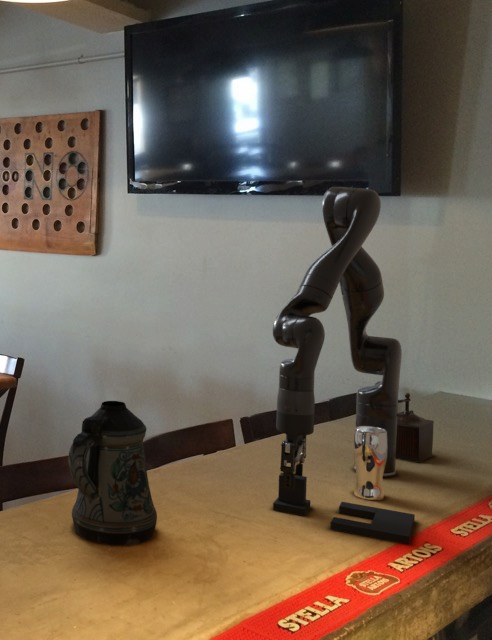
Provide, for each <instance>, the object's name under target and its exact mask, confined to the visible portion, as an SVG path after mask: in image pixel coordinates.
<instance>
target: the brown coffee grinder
mask: <svg viewBox="0 0 492 640" xmlns="http://www.w3.org/2000/svg"><path fill="white" fill-rule="evenodd" d="M381 381H382V380H381ZM381 381H380V380H379V381H377V382H376V383H374V385H376V384H378V383H380V382H381ZM410 397H411V394H410V393H409V392H406V393H404V398H403V399H398V404H403V403H405V405H404V411H401V412H397V440H396V459H399V460H403V461H409V462H413V463H422V462H423V461H426V460H427V459H429V458H432V457H433V445H434V425H435V424H434V420H430V419H425V418H424V417H422V416H419V415H418V414H416V413H414V410H413V409H411V410H410V402H411V401H412V400H411V398H410Z"/></svg>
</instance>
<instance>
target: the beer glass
mask: <svg viewBox="0 0 492 640" xmlns="http://www.w3.org/2000/svg"><path fill="white" fill-rule="evenodd" d="M353 450H354V453H353V460H354V461H355V467H356V471H355V473H356V475H355V476H356V480H355V486H354V490H353V494H354V496H355V497H357V498H360V499H362V500H367V501H381V500H383V499H384V498H385V495H384V489H383V478H384V477H383V473H384V469H385V465H386V460H387V451H388V442H387V430H385V429H383V428H379V427H374V426H357V427H356V426H355V427H354V436H353Z"/></svg>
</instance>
